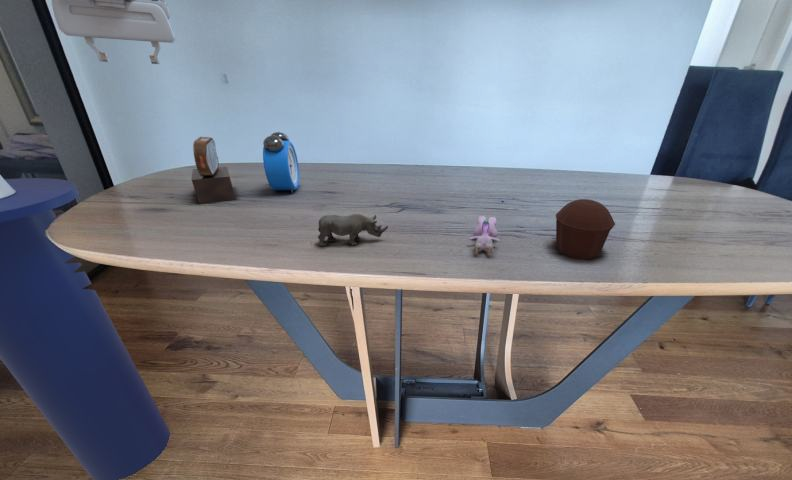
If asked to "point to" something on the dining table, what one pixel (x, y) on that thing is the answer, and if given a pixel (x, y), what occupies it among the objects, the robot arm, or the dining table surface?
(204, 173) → the tin
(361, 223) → the rhino figurine
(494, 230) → the rabbit figure
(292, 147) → the alarm clock
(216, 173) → the walnut block
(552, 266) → the dining table surface
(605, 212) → the muffin
